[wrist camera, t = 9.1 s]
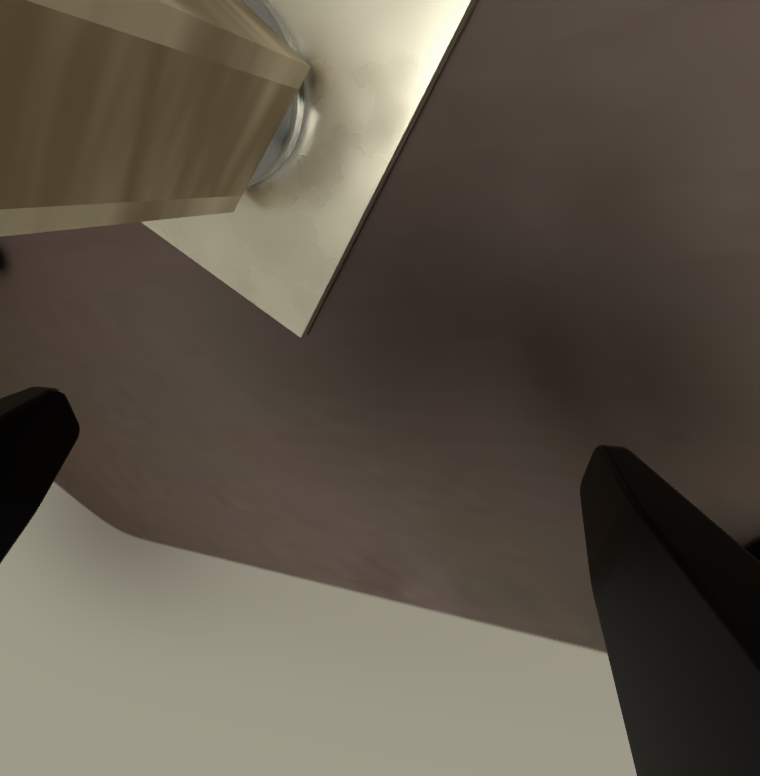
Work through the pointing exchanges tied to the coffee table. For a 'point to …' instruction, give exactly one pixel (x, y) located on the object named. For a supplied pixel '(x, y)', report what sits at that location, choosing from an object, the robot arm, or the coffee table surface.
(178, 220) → the square metal plate
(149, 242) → the coffee table surface
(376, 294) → the coffee table surface
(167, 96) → the sleeve
